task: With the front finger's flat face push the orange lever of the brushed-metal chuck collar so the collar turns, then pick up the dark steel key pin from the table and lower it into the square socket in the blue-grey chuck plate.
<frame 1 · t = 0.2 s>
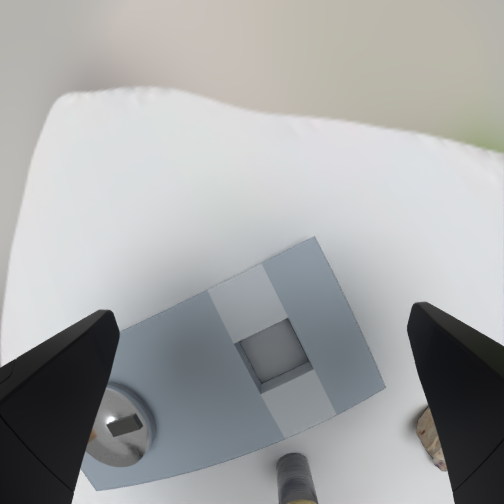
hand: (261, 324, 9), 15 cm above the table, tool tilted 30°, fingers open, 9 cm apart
mineral specimen: (460, 425, 22), on the table
chuck plate: (191, 386, 23), on the table
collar: (74, 436, 19), point 4 cm above the table, hinge at 0.0°
key pin: (292, 465, 22), on the table
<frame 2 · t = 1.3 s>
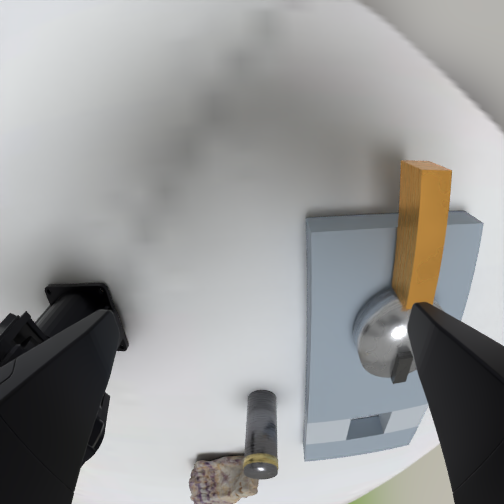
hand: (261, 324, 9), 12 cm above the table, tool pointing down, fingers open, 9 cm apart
mineral specimen: (224, 464, 34), on the table
chuck plate: (374, 359, 25), on the table
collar: (413, 285, 17), point 4 cm above the table, hinge at 0.0°
key pin: (262, 398, 27), on the table
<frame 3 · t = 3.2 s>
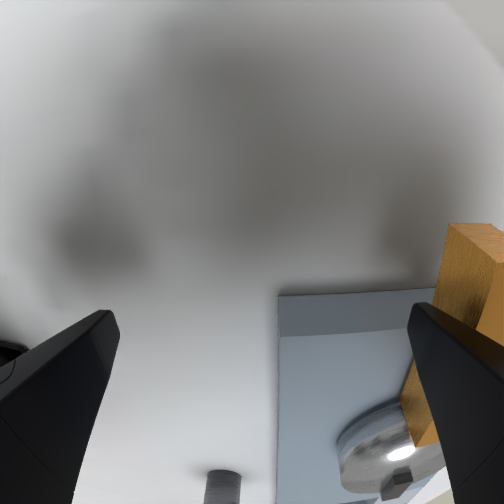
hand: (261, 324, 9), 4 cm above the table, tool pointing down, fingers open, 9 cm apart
chuck plate: (364, 447, 18), on the table
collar: (431, 408, 10), point 4 cm above the table, hinge at 0.0°, touching gripper
key pin: (224, 476, 20), on the table
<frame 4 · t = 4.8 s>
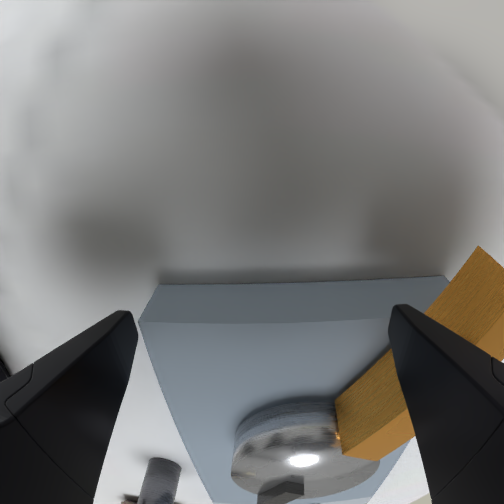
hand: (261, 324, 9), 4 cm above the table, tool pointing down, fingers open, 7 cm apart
chuck plate: (296, 449, 18), on the table
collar: (368, 421, 10), point 4 cm above the table, hinge at 33.2°, touching gripper
key pin: (165, 465, 20), on the table
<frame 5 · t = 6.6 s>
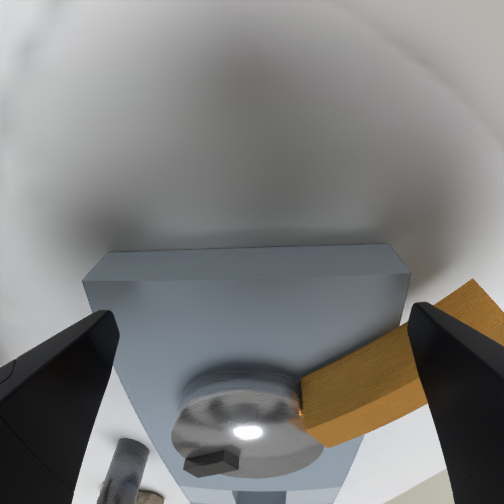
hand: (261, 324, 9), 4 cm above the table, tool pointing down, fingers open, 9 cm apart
mineral specimen: (134, 495, 28), on the table
chuck plate: (257, 432, 18), on the table
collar: (330, 406, 11), point 4 cm above the table, hinge at 56.9°
key pin: (133, 447, 21), on the table
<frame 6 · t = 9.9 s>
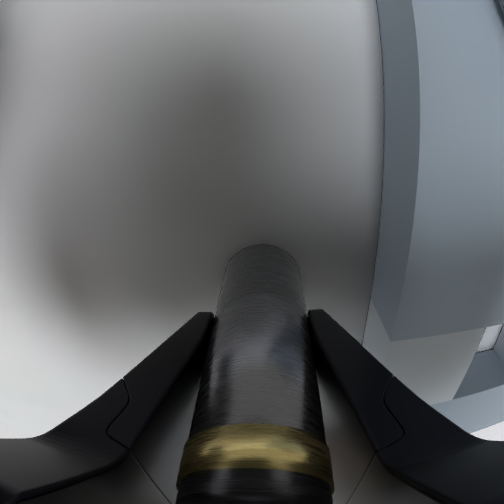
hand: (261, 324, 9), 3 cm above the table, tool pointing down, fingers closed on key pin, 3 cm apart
key pin: (262, 279, 11), on the table, touching gripper
when the fingers open (4 cm above the table, at t = 13.4 s): key pin drops 2 cm, resting in chuck plate.
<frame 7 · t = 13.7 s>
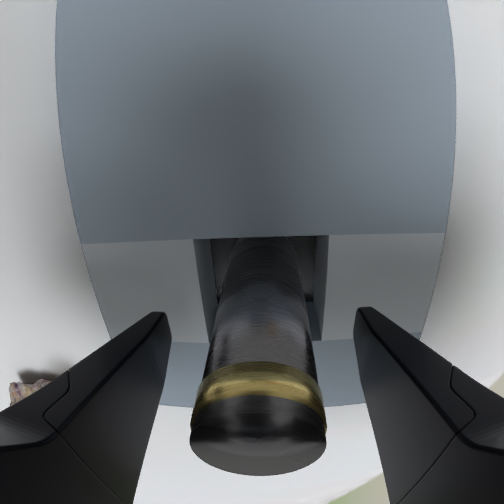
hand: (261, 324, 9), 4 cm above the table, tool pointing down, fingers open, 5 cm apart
mineral specimen: (65, 407, 19), on the table
chuck plate: (254, 71, 9), on the table
key pin: (263, 261, 12), resting in chuck plate
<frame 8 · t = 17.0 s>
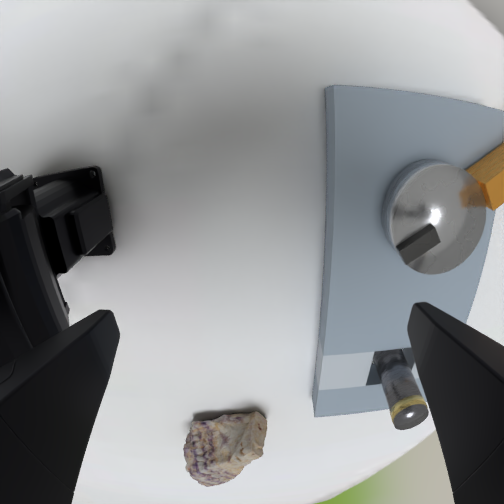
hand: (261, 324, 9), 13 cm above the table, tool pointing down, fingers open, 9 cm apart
mineral specimen: (225, 429, 31), on the table
chuck plate: (400, 276, 22), on the table
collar: (484, 185, 15), point 4 cm above the table, hinge at 56.9°
key pin: (384, 347, 25), resting in chuck plate
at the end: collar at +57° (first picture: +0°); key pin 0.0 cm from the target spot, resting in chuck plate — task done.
